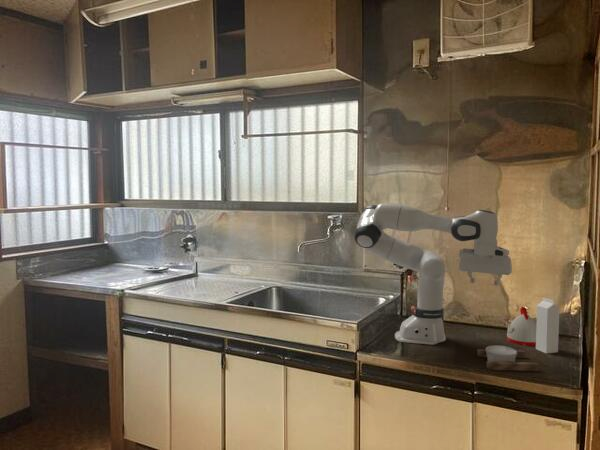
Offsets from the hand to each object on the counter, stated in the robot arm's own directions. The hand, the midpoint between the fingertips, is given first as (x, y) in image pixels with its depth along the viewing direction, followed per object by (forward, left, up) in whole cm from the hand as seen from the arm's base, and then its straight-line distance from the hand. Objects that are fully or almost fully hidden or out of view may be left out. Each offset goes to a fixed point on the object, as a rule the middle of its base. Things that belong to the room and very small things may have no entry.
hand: (484, 283), depth 202 cm
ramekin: (+4, -10, -30) cm, 32 cm away
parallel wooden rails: (+6, -10, -29) cm, 32 cm away
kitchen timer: (+22, +19, -29) cm, 41 cm away
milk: (+27, +6, -29) cm, 40 cm away
